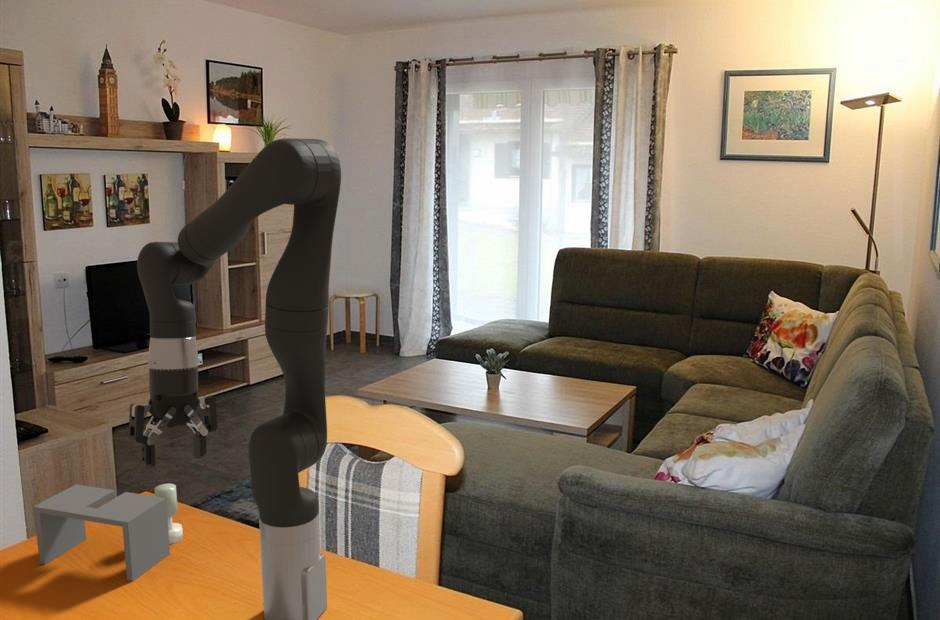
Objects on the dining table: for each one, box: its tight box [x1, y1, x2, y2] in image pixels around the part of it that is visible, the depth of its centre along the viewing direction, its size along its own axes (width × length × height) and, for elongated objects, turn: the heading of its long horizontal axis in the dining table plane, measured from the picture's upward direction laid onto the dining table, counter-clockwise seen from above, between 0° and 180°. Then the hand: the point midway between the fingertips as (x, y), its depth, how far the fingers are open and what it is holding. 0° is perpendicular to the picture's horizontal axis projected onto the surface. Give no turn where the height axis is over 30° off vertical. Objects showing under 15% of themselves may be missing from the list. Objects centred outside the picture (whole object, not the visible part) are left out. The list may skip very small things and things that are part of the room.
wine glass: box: [154, 483, 184, 545], centre depth 152 cm, size 5×5×10 cm
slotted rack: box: [33, 483, 171, 582], centre depth 144 cm, size 20×10×11 cm, turn 73°
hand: (175, 462), depth 131 cm, fingers open, 8 cm apart
